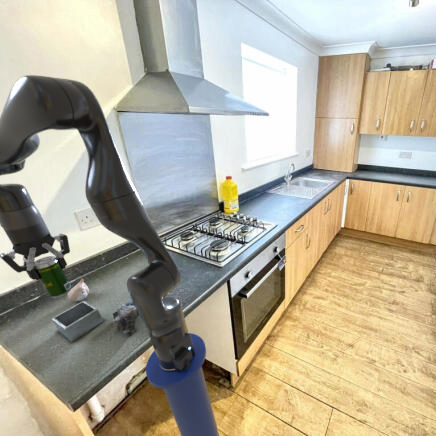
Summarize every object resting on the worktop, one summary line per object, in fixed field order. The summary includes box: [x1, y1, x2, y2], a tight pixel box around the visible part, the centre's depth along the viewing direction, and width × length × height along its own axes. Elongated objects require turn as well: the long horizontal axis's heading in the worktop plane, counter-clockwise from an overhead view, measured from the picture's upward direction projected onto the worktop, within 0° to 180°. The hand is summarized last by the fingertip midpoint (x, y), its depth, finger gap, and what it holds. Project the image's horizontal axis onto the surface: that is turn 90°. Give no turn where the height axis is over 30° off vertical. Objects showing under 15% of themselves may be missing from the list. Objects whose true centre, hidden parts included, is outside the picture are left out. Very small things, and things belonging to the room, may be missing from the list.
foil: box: [111, 295, 138, 335], centre depth 83 cm, size 12×11×15 cm
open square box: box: [51, 300, 104, 342], centre depth 80 cm, size 9×9×6 cm
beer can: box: [33, 255, 72, 299], centre depth 71 cm, size 5×5×12 cm
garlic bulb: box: [67, 277, 90, 303], centre depth 92 cm, size 7×6×8 cm
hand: (50, 273), depth 70 cm, fingers closed on beer can, 5 cm apart
